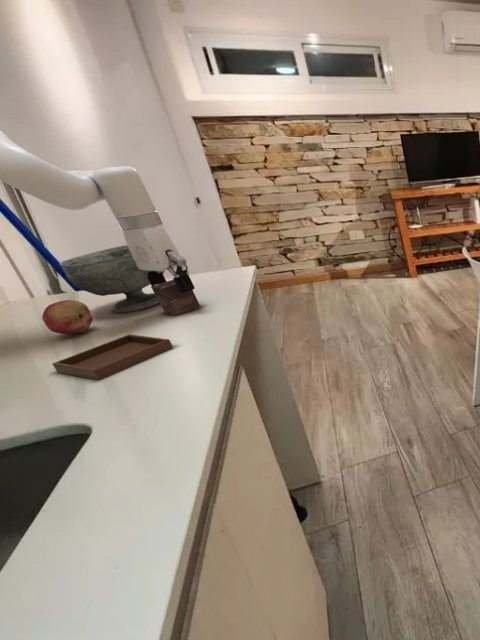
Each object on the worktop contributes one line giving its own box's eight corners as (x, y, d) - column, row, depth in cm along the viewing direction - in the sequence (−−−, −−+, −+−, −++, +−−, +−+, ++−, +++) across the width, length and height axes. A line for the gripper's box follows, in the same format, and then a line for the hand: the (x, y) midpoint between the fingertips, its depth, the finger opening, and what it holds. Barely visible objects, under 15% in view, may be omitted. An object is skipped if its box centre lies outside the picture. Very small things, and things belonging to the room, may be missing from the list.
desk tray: (99, 379, 89) (93, 370, 88) (57, 372, 93) (51, 363, 92) (173, 347, 100) (169, 339, 99) (133, 342, 104) (129, 334, 104)
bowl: (115, 299, 133) (86, 247, 126) (195, 287, 138) (171, 237, 131) (69, 326, 116) (32, 268, 109) (161, 312, 121) (132, 255, 114)
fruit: (66, 342, 107) (46, 309, 103) (46, 339, 109) (25, 307, 106) (107, 327, 114) (89, 296, 110) (86, 325, 116) (68, 294, 112)
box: (201, 307, 122) (189, 280, 119) (174, 316, 117) (160, 288, 114) (191, 304, 125) (178, 277, 122) (163, 312, 120) (149, 285, 117)
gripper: (98, 226, 111) (136, 294, 119) (146, 226, 105) (182, 297, 113) (134, 218, 117) (168, 283, 125) (181, 218, 112) (213, 286, 119)
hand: (174, 290), depth 119 cm, fingers open, 9 cm apart
